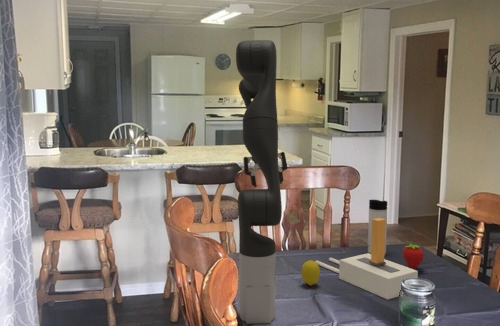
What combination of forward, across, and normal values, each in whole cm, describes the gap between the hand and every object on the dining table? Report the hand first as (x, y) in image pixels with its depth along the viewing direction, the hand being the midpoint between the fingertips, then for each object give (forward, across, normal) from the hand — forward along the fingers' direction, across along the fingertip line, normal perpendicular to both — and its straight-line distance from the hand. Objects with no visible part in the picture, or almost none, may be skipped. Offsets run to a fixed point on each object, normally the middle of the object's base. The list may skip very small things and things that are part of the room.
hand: (267, 185), depth 177 cm
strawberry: (+33, +42, -9) cm, 54 cm away
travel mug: (+30, +36, +8) cm, 48 cm away
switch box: (+33, +26, -20) cm, 46 cm away
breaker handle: (+27, +27, -21) cm, 43 cm away
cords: (+30, +18, -4) cm, 35 cm away
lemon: (+31, +6, -18) cm, 36 cm away
